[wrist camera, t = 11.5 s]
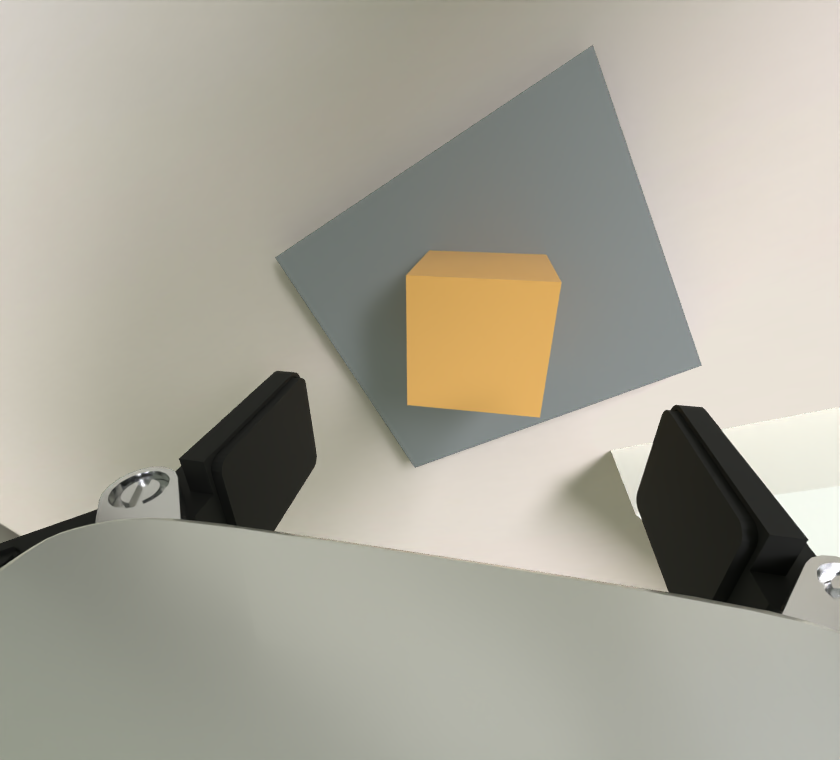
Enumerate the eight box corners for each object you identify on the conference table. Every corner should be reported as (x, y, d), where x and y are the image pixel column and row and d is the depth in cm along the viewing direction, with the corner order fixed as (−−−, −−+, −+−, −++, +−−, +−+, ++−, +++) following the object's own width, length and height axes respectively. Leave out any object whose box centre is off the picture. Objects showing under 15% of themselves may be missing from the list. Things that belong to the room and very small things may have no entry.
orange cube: (429, 250, 22) (406, 275, 16) (546, 254, 21) (561, 282, 16) (427, 354, 24) (407, 405, 19) (531, 362, 24) (539, 417, 18)
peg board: (287, 253, 25) (235, 272, 20) (586, 54, 18) (616, 11, 13) (418, 454, 30) (402, 509, 25) (690, 354, 23) (739, 402, 18)
